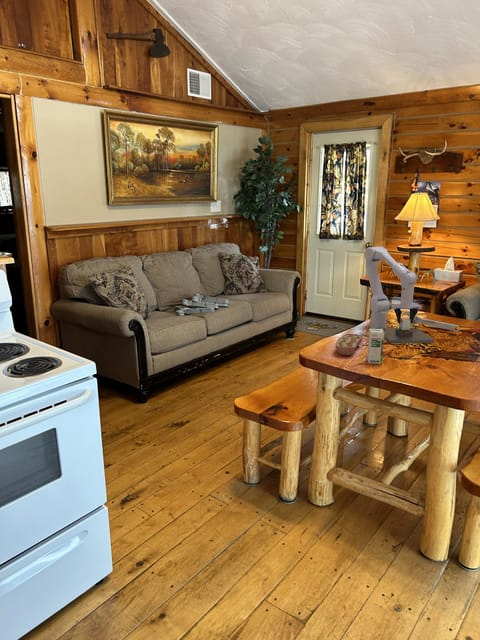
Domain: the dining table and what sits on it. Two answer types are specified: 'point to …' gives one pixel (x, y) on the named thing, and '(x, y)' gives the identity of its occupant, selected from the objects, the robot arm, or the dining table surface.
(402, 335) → the stand
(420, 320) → the wrench
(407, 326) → the grey block
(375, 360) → the syrup box
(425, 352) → the dining table surface
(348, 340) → the brown rounded block
